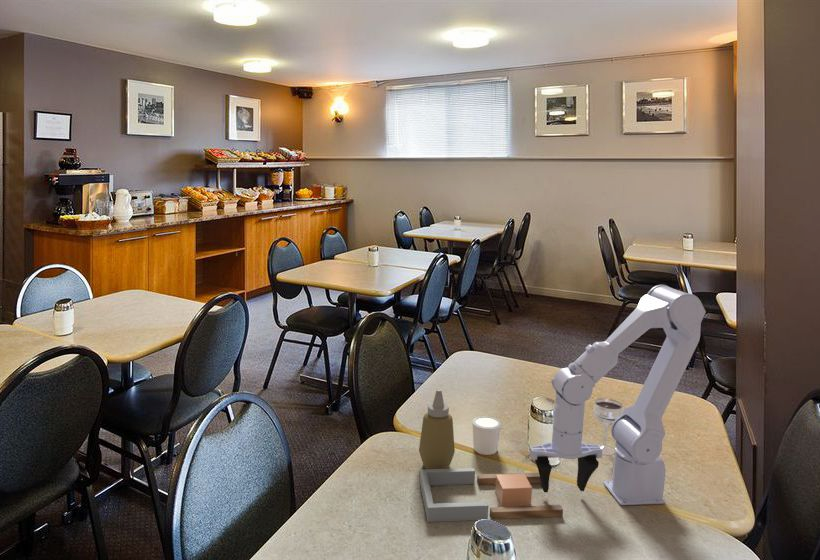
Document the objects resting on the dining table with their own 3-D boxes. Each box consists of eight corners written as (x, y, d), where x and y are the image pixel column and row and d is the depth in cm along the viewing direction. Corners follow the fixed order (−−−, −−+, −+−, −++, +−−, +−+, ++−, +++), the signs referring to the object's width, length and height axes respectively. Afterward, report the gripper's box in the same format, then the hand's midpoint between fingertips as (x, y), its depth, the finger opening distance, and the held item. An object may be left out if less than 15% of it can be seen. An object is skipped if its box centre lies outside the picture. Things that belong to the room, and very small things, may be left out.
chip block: (523, 491, 109) (524, 473, 108) (530, 505, 104) (532, 487, 103) (495, 492, 108) (496, 474, 108) (501, 506, 103) (502, 488, 103)
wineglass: (586, 442, 130) (590, 397, 128) (614, 444, 129) (619, 398, 127) (593, 456, 123) (597, 408, 121) (622, 458, 123) (627, 410, 120)
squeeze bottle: (455, 476, 114) (458, 399, 110) (418, 475, 114) (420, 397, 110) (452, 457, 122) (455, 384, 118) (418, 456, 122) (420, 383, 118)
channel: (540, 478, 113) (540, 472, 113) (562, 516, 101) (563, 509, 100) (477, 480, 112) (477, 474, 112) (491, 519, 99) (492, 512, 99)
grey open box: (473, 480, 112) (473, 467, 111) (487, 519, 99) (488, 505, 99) (419, 482, 111) (420, 469, 110) (427, 521, 98) (427, 507, 97)
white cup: (499, 457, 122) (500, 430, 120) (469, 454, 123) (471, 426, 122) (500, 443, 128) (501, 417, 127) (472, 440, 130) (473, 414, 128)
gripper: (593, 418, 109) (588, 477, 111) (526, 419, 108) (522, 479, 110) (609, 434, 102) (603, 496, 105) (537, 435, 101) (533, 499, 103)
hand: (562, 489), depth 107 cm, fingers open, 7 cm apart
